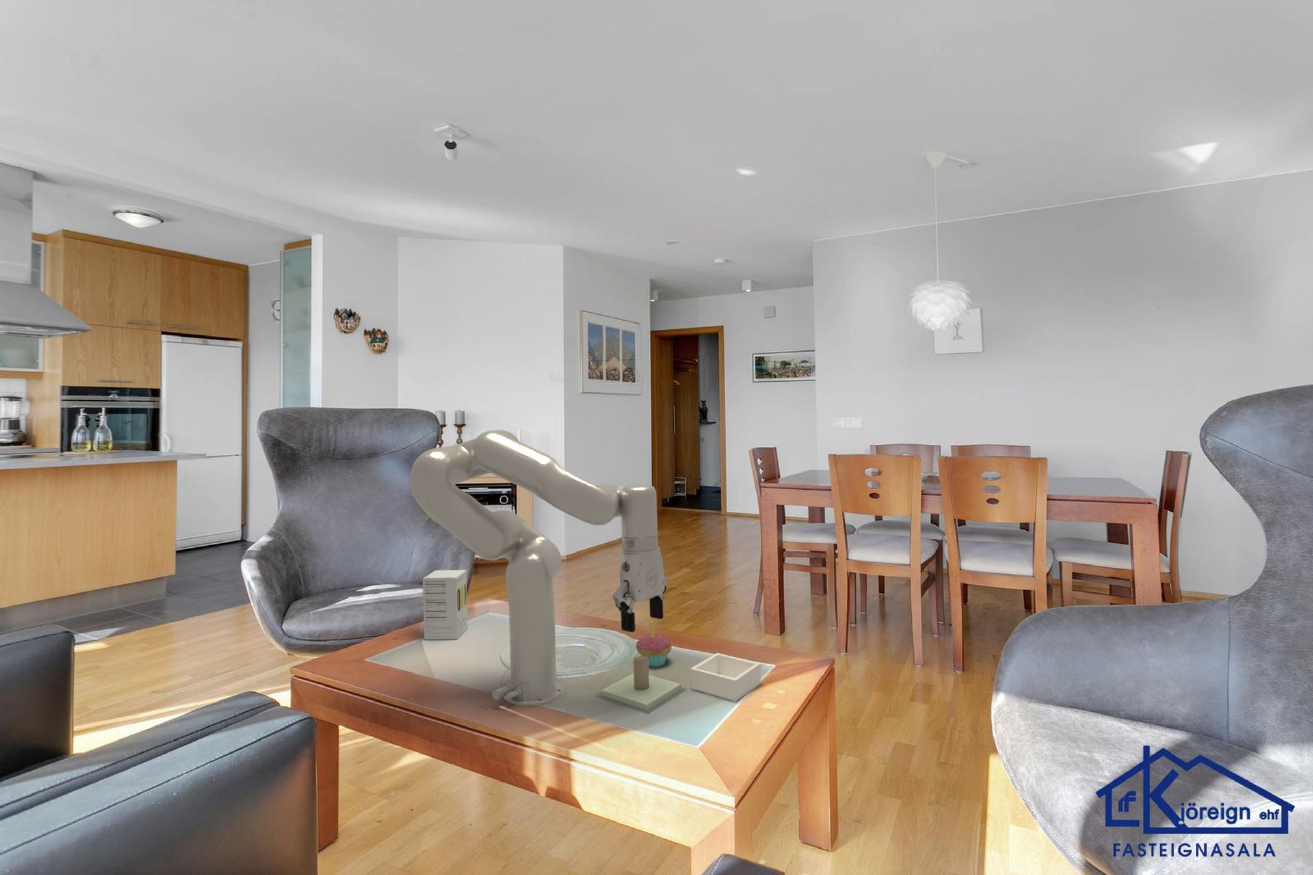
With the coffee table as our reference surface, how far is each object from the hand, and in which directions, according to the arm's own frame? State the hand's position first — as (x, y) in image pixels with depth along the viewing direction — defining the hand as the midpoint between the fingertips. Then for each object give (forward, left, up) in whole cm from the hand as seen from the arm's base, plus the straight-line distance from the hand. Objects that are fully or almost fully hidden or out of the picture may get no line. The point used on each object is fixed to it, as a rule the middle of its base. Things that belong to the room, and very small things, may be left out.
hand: (642, 624), depth 136 cm
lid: (0, 0, -15) cm, 15 cm away
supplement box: (0, +68, -16) cm, 70 cm away
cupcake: (+15, +8, -16) cm, 23 cm away
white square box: (+13, -13, -15) cm, 23 cm away
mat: (0, 0, -15) cm, 15 cm away
